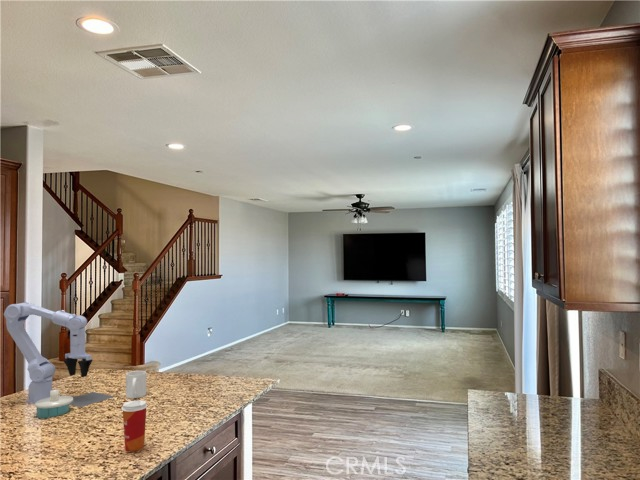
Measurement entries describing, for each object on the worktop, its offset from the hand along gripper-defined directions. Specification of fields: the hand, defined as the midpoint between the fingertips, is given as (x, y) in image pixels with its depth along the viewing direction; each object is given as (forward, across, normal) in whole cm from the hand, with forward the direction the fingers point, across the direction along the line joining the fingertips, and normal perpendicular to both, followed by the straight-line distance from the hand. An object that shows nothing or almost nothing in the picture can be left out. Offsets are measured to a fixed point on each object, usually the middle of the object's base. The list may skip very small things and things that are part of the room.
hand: (78, 375), depth 197 cm
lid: (+6, +7, -15) cm, 18 cm away
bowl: (+10, +6, -16) cm, 20 cm away
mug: (+11, +20, +12) cm, 26 cm away
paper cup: (+11, +63, -26) cm, 69 cm away
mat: (+10, +4, +1) cm, 11 cm away
